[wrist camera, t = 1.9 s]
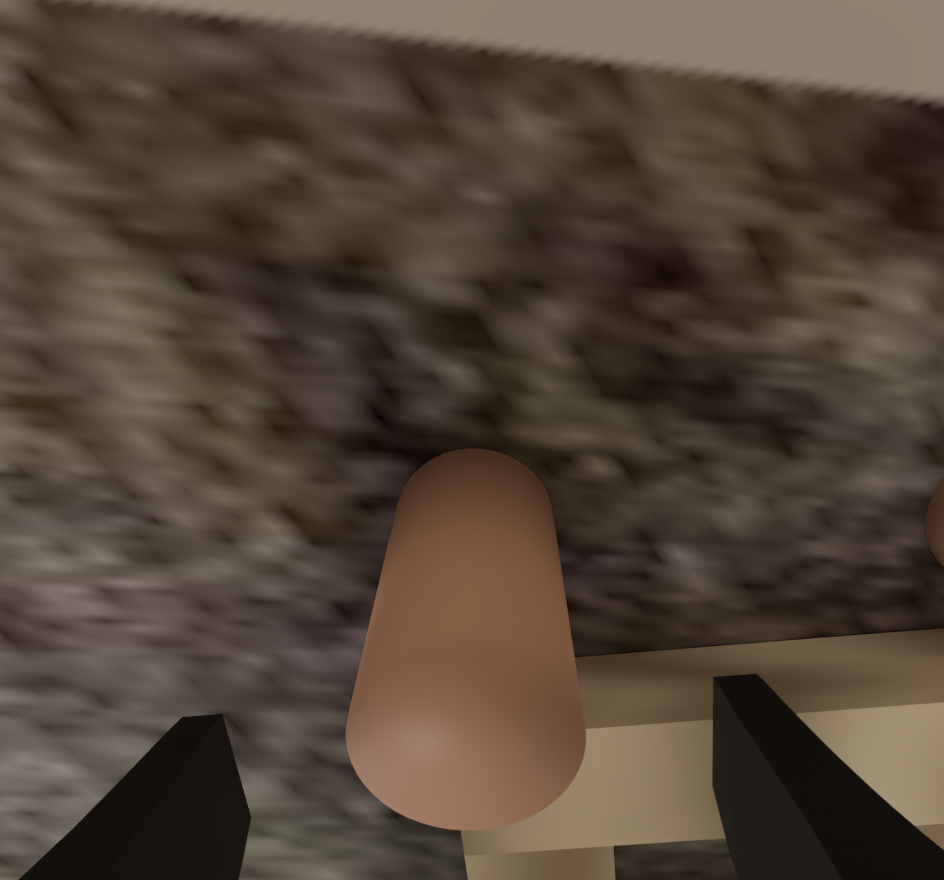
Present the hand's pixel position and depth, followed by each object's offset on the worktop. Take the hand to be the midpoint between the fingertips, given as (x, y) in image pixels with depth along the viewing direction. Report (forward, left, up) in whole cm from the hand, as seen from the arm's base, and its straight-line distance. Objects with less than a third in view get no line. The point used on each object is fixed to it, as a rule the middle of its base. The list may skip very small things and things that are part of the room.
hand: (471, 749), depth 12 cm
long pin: (0, 0, -7) cm, 7 cm away
